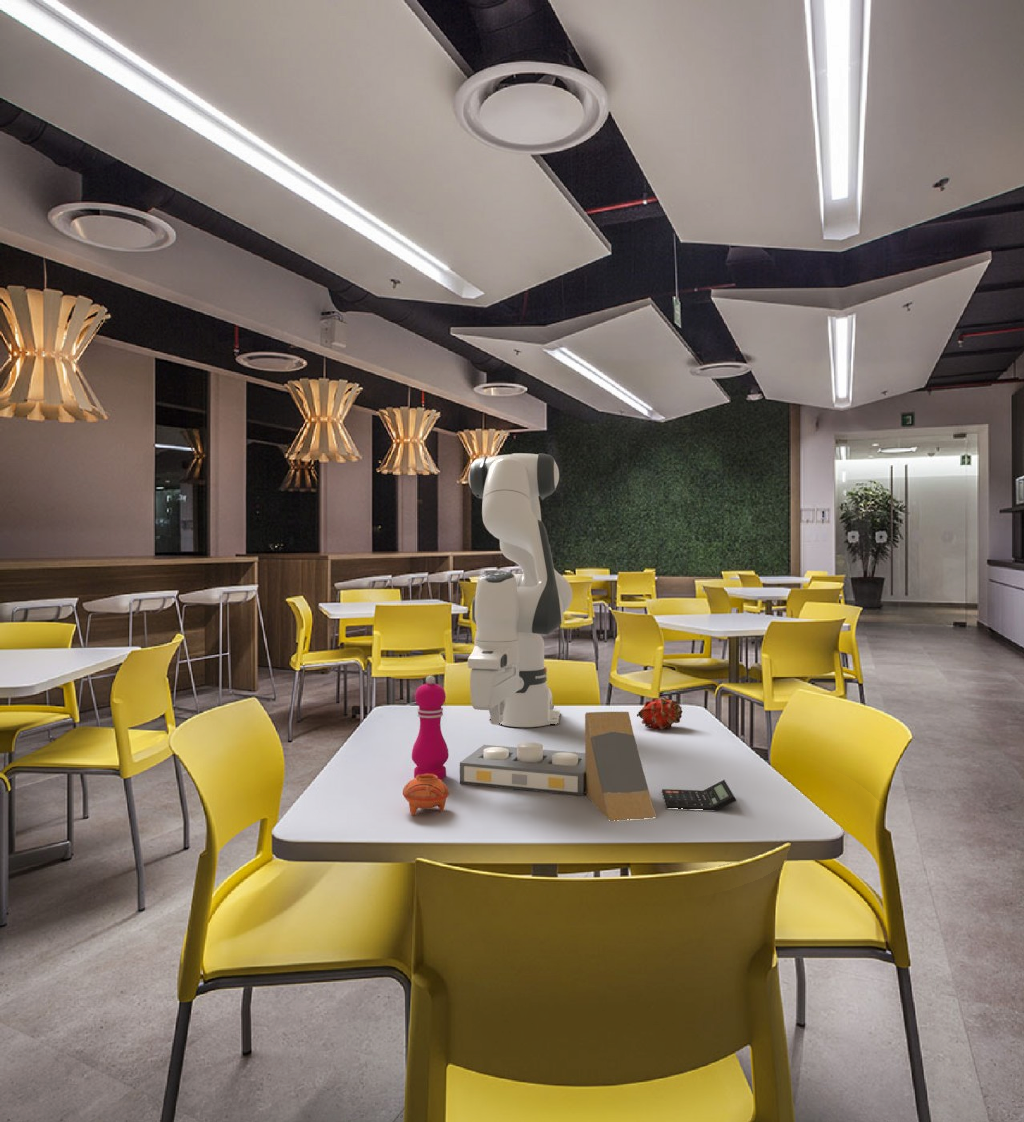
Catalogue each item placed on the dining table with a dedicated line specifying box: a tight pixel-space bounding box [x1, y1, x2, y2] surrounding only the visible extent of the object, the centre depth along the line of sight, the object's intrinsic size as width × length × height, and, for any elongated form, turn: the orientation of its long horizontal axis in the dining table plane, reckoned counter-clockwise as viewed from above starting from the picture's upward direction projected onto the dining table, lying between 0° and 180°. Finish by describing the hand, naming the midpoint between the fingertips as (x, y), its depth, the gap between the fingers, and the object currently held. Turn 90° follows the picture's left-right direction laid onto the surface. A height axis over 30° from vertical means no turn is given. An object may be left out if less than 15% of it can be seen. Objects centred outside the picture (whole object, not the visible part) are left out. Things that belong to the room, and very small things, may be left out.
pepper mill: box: [411, 675, 449, 781], centre depth 143 cm, size 7×7×20 cm
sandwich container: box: [584, 711, 657, 822], centre depth 128 cm, size 9×15×15 cm, turn 10°
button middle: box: [516, 741, 544, 763], centre depth 143 cm, size 5×5×4 cm
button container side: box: [552, 753, 578, 766], centre depth 141 cm, size 5×5×4 cm
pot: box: [402, 774, 450, 817], centre depth 124 cm, size 8×8×7 cm
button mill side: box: [483, 747, 509, 760], centre depth 145 cm, size 5×5×4 cm
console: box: [459, 744, 586, 796], centre depth 142 cm, size 14×24×4 cm, turn 73°
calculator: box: [661, 779, 737, 811], centre depth 130 cm, size 9×12×3 cm
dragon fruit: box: [636, 696, 683, 731], centre depth 186 cm, size 8×8×12 cm
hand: (497, 722), depth 145 cm, fingers closed
